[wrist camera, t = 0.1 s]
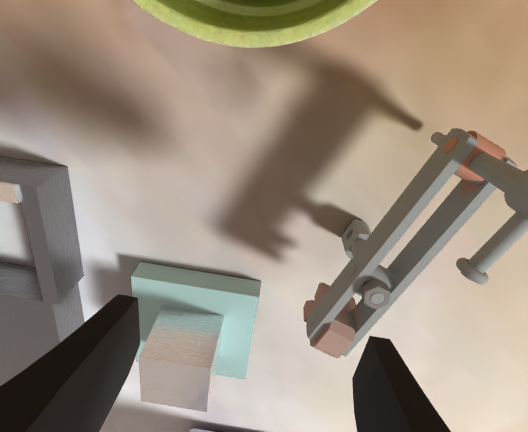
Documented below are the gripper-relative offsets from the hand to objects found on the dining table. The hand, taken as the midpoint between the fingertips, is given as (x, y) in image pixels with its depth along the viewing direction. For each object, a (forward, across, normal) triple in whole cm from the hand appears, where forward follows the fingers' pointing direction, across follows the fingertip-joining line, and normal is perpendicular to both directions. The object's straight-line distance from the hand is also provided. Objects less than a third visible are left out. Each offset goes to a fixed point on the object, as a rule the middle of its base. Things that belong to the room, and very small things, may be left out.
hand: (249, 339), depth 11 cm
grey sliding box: (+10, +16, +14) cm, 24 cm away
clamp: (+11, -6, -2) cm, 12 cm away
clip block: (+9, +4, +10) cm, 14 cm away
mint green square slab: (+10, +4, +10) cm, 15 cm away
